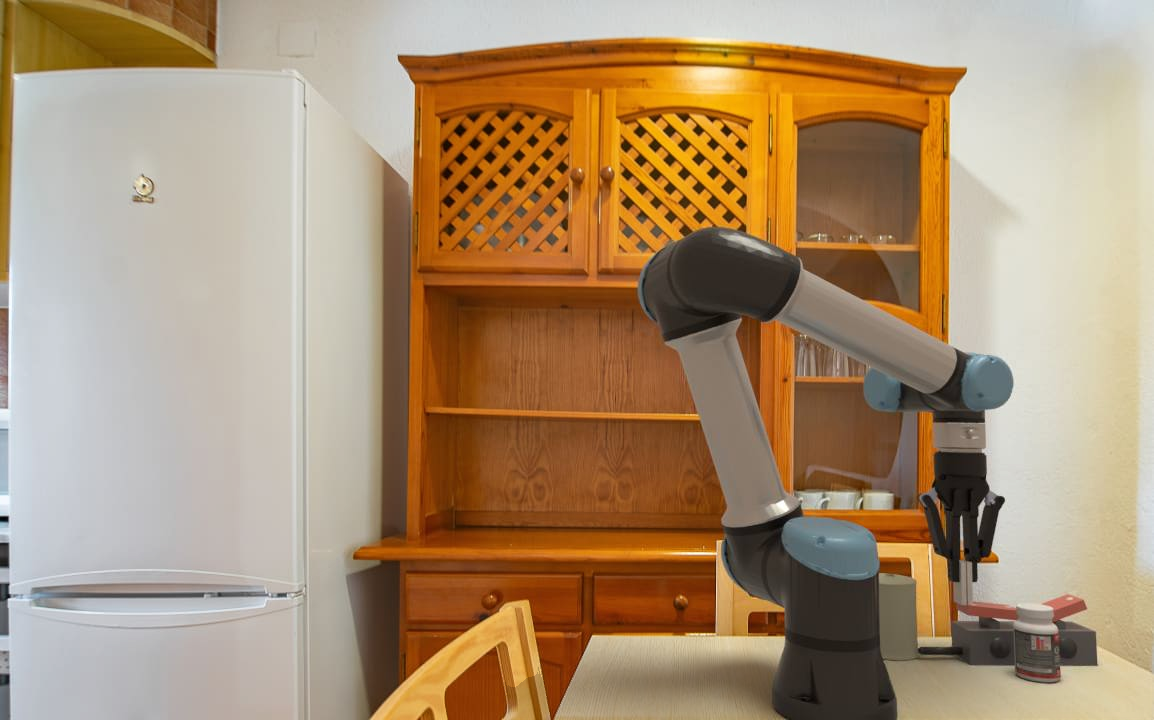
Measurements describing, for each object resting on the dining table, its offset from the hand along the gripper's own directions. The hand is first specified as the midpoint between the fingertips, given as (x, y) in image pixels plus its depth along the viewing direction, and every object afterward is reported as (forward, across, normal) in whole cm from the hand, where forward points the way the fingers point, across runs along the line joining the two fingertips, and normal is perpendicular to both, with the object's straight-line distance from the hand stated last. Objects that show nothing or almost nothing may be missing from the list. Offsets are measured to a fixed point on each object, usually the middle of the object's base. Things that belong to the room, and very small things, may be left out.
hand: (963, 603), depth 123 cm
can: (+9, -10, +4) cm, 14 cm away
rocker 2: (+1, +14, 0) cm, 14 cm away
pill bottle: (+9, +6, -9) cm, 14 cm away
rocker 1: (+1, +4, 0) cm, 4 cm away
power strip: (+8, +6, 0) cm, 10 cm away
